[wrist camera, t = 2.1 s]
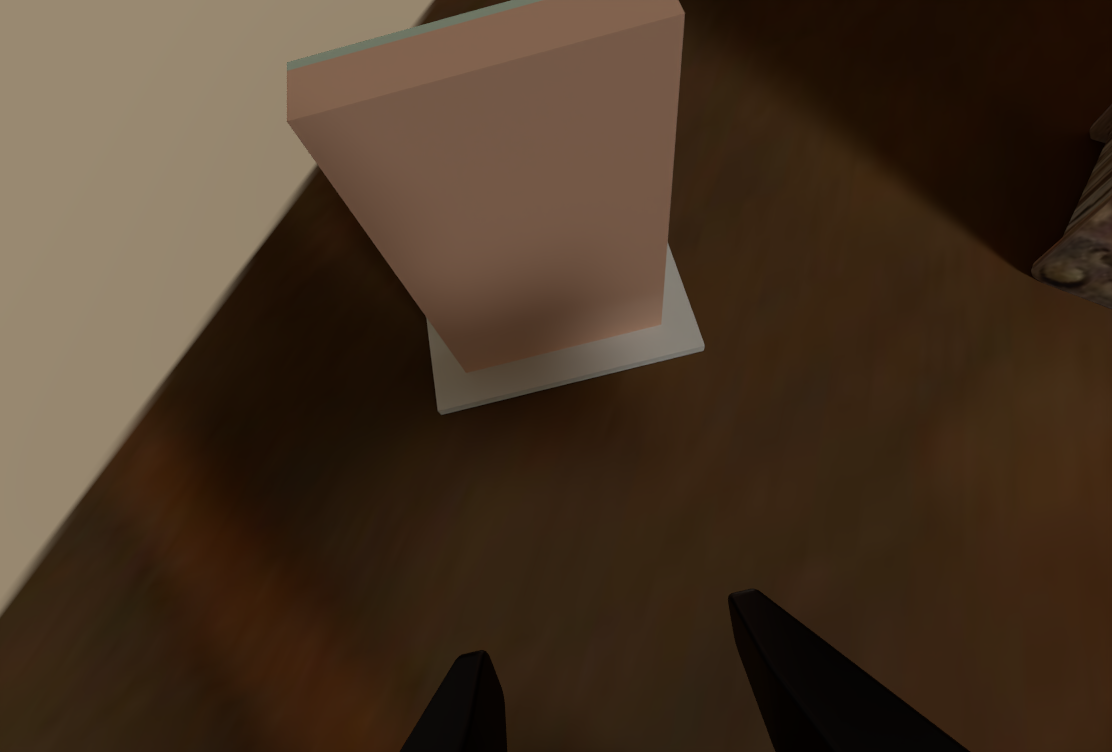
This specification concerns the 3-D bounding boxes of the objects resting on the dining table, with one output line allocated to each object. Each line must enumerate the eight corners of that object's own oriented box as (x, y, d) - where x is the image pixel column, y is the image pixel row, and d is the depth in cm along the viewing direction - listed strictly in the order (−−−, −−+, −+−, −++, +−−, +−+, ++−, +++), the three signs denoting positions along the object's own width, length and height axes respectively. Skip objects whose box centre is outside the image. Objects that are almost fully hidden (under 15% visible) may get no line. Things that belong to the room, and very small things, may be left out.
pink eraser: (466, 373, 25) (286, 121, 12) (460, 335, 26) (286, 62, 13) (661, 324, 25) (684, 12, 12) (649, 287, 25) (659, -41, 13)
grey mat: (441, 414, 25) (437, 411, 24) (405, 132, 32) (402, 125, 32) (703, 350, 24) (704, 345, 24) (606, 78, 32) (605, 70, 31)
